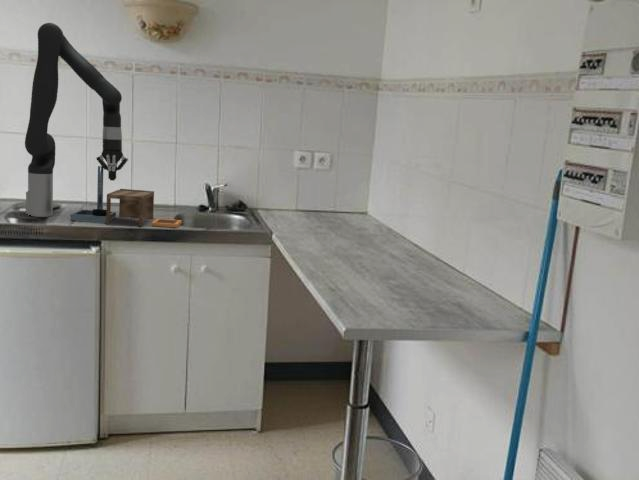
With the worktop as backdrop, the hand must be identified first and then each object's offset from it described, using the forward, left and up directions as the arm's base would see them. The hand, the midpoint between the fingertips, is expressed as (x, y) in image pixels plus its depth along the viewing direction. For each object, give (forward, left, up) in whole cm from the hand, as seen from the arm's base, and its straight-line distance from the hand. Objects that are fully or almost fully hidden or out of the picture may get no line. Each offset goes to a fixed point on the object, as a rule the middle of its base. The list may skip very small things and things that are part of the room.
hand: (112, 180), depth 277 cm
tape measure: (0, -8, -15) cm, 17 cm away
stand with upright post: (-5, -8, -16) cm, 18 cm away
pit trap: (+25, -8, -16) cm, 30 cm away
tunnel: (+10, -8, -16) cm, 20 cm away
